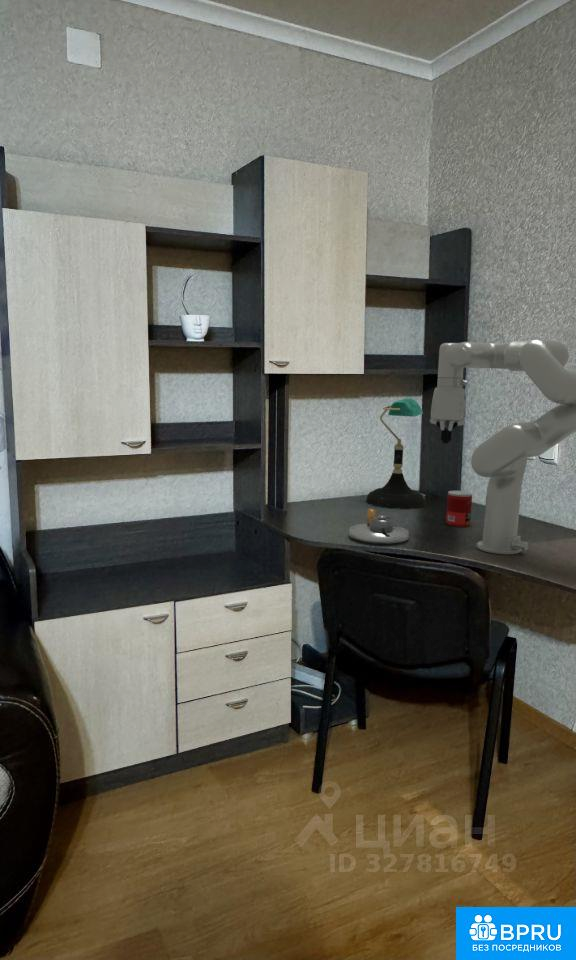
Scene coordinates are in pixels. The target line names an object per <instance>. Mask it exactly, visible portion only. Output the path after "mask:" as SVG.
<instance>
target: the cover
mask: <svg viewBox="0 0 576 960" xmlns="http://www.w3.org/2000/svg"><path fill="white" fill-rule="evenodd" d="M393 525H394V519H393V518H392V517H389V516H388V517H387V516H386V515H384V514H379V515H378V516H375V517H372V518H370V531H372V532H376V533H391V532H393Z"/></svg>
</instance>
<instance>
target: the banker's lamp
mask: <svg viewBox="0 0 576 960" xmlns="http://www.w3.org/2000/svg"><path fill="white" fill-rule="evenodd" d="M382 410H383V412H382V413H381V415H380V416H379V420H380V422H381V423H382V425H384V427H385V428H386V429H387V431H388V432H390V434H391V435H392V436H393V437H394V438H395V439H396V440H397V443H396V444H395V445H394V447H393V449H394V450H393V451H394V453H393V465H392V466H393V470H392V473H391V476H390V478H389V479H388V481H387V482H386V484H384V486H383V487H379V488H375V489H374V490H372V491H370V492H369V493H368V494H367V496H366V500H365V502H366V503H367V504H369V505H371V504H372V505H371V506H374V505H375V507H378V506H380V507H379V508H384V507H388V508H387V509H394V508H400V509H399V510H410V508H414V509H419V508H423V506H424V507H425V506H427V501H426V496H424V494H421V493H420V492H419V491H418V490H415V489H412V488H410V487H409V485H408V483H407V481H406V479H405V477H404V474H403V469H402V468H403V465H404V464H403V460H404V456H403V455H404V445H403V444H402V439H401V438H399V437H398V436H397V434H396V433H394V432H393V430H392V428H390V427H389V425H388V424H386V422H385V420H383V416H384V415H385V414H386V412H387V411H388V414H387V416H394V417H396V416H397V417H418V416H420V415H423V414H424V412H423V410H422V408H421V406H420V405H419V402H417V401H416V400H415V399H413V398H409V397H408V398H402V399H399V400H396V401H394V402H392V404H391V405H387V406H384V407H382Z"/></svg>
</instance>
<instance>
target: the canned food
mask: <svg viewBox="0 0 576 960" xmlns="http://www.w3.org/2000/svg"><path fill="white" fill-rule="evenodd" d="M472 505H473V493H472V492H470V491H465V490H449V491H448V492H447V500H446V515H445V517H446V518H445V522H446V524H447V525H448V526H451V527H456V528H467V527H469V526H470V524H471V517H472Z"/></svg>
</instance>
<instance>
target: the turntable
mask: <svg viewBox="0 0 576 960" xmlns="http://www.w3.org/2000/svg"><path fill="white" fill-rule="evenodd" d="M372 517H376V509H375V508H368V509H367V517H366V518H367V519H366V523H358V524H353V525H352V526H350V527H349V532H348V534H349V536H350V538H351V539H354V540H357V541H361V542H365V543H372V544H399V543H403V542H406V541H407V540H408V539H409V530H408V529H406V528H404V527H402V526H399V525H394V524H393V532H391V533H376V532H372V531H370V518H372Z"/></svg>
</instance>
